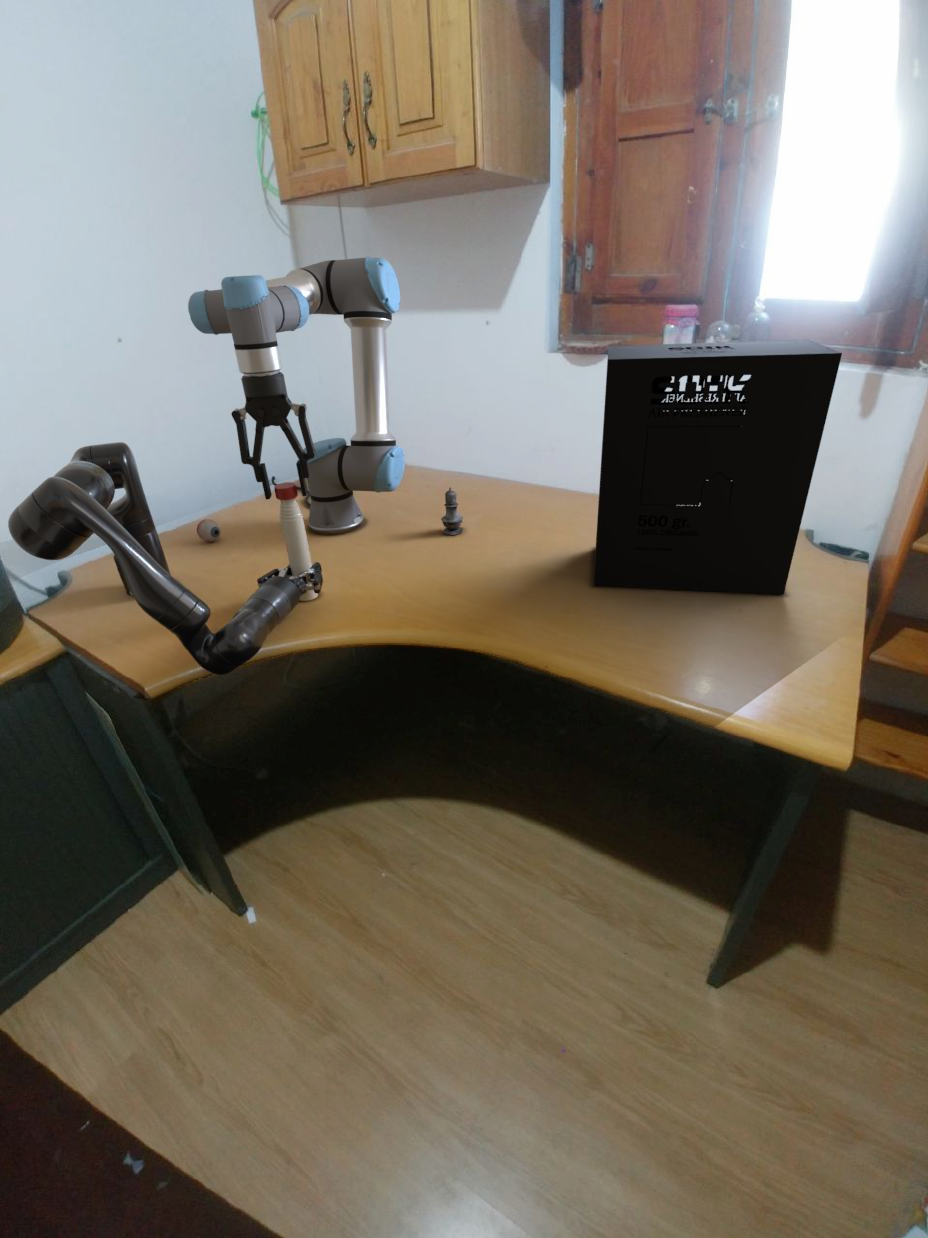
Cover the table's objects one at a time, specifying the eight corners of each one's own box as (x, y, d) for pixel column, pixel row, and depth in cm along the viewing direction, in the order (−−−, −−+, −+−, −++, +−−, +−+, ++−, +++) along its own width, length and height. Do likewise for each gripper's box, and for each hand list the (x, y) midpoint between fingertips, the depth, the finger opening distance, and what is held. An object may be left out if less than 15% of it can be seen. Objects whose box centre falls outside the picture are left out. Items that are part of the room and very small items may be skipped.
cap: (301, 493, 122) (299, 482, 121) (291, 500, 119) (288, 489, 118) (283, 492, 123) (281, 481, 122) (272, 499, 120) (269, 488, 119)
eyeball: (210, 546, 160) (204, 525, 157) (195, 542, 163) (189, 521, 160) (228, 538, 164) (223, 518, 161) (213, 535, 167) (208, 514, 164)
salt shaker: (461, 535, 158) (459, 491, 152) (439, 534, 159) (436, 490, 153) (465, 527, 163) (463, 483, 157) (444, 526, 164) (441, 483, 158)
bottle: (307, 589, 135) (286, 483, 123) (322, 594, 133) (301, 486, 121) (292, 598, 132) (269, 490, 120) (307, 602, 130) (284, 493, 118)
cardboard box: (762, 553, 139) (808, 339, 116) (783, 594, 122) (842, 352, 99) (595, 547, 147) (608, 345, 124) (593, 585, 129) (608, 359, 107)
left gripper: (302, 587, 114) (335, 550, 129) (234, 584, 117) (273, 548, 131) (309, 621, 118) (341, 582, 132) (243, 617, 120) (280, 579, 135)
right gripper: (317, 366, 114) (336, 485, 125) (211, 373, 112) (241, 494, 123) (313, 371, 107) (334, 497, 119) (201, 379, 105) (233, 506, 117)
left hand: (307, 565), depth 132 cm, fingers closed on bottle, 4 cm apart
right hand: (286, 495), depth 121 cm, fingers open, 6 cm apart
